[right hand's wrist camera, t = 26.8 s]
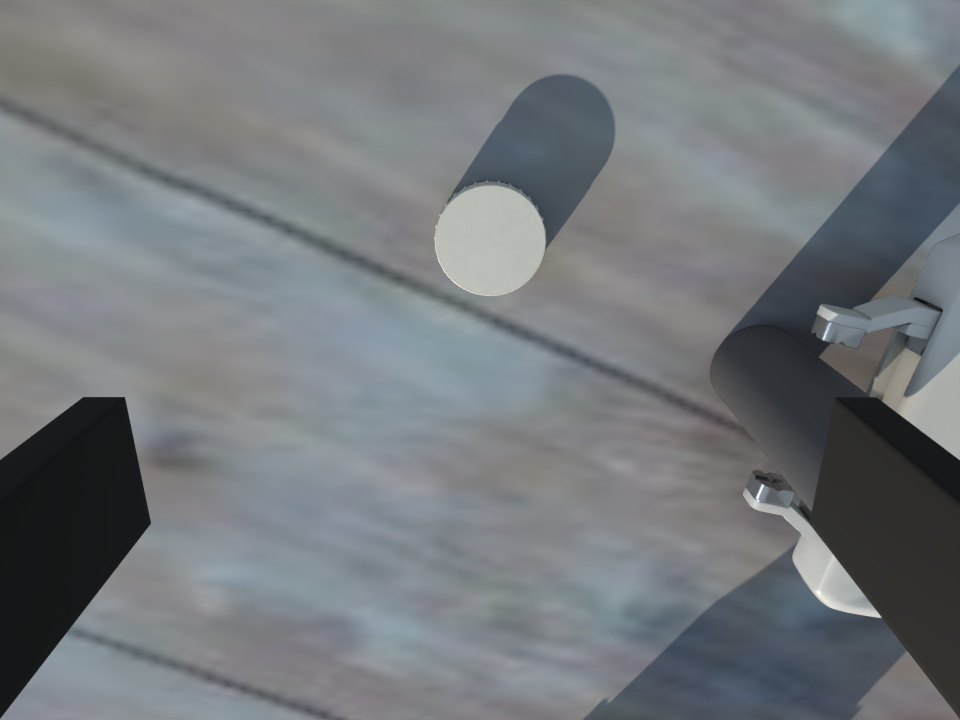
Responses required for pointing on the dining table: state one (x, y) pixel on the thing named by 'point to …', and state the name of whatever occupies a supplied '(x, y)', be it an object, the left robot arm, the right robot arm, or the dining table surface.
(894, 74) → the dining table surface
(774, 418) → the jar
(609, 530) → the dining table surface
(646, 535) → the dining table surface
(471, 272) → the lid
